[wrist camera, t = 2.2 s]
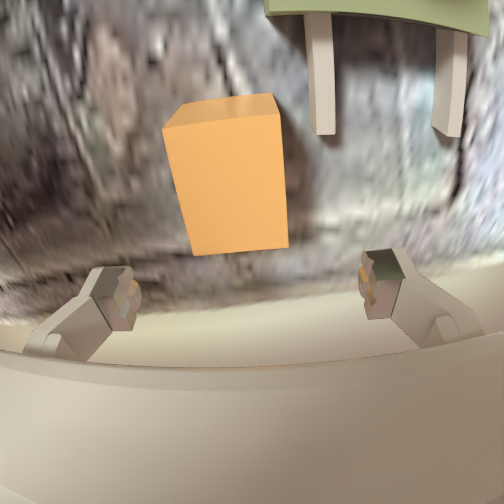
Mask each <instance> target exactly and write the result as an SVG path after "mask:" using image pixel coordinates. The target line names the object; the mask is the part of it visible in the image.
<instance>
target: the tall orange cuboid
mask: <svg viewBox="0 0 504 504" xmlns="http://www.w3.org/2000/svg"><path fill="white" fill-rule="evenodd" d="M162 133H163V138H164V142H165V146H166V151H167V155H168V159H169V163H170V167H171V171H172V176H173V180H174V184H175V188H176V192H177V195H178V199H179V203H180V207H181V211H182V215H183V219H184V222H185V226H186V230H187V233H188V237H189V241H190V244H191V248H192V252H193V255H194V256H200V255H211V254H222V253H233V252H244V251H255V250H266V249H277V248H288V247H289V244H288V224H287V207H286V190H285V175H284V160H283V146H282V133H281V121H280V113H279V110H278V107H277V105H276V102H275V99H274V97H273V94H272V93H261V94H251V95H242V96H233V97H225V98H218V99H211V100H204V101H198V102H192V103H186V104H182V105H181V106H180V108H179V109H178V110H177V111H176V112H175V114H174V115H173V116H172V117H171V118H170V120H169V121H168V122H167V123H166V125H165V126H164V127H163V128H162Z"/></svg>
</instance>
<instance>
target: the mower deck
mask: <svg viewBox="0 0 504 504" xmlns="http://www.w3.org/2000/svg"><path fill="white" fill-rule="evenodd" d="M263 2H264V11H265V16H280V15H303V17H304V29H305V41H306V55H307V71H308V89H309V111H310V125H311V127H312V128H313V130H314V132H315V133H316V135H331V134H335V80H334V55H333V36H332V21H331V15H334V16H353V17H365V18H376V19H385V20H393V21H400V22H406V23H413V24H418V25H424V26H429V27H434V28H436V66H435V88H434V103H433V114H432V126H433V127H434V128H436V129H437V130H439V131H440V132H442V133H443V134H444V135H446V136H449V137H460V133H461V125H462V118H463V109H464V99H465V87H466V72H467V34H473V35H478V36H483V37H487V38H489V12H488V0H263Z"/></svg>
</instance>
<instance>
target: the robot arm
mask: <svg viewBox="0 0 504 504" xmlns="http://www.w3.org/2000/svg"><path fill="white" fill-rule="evenodd" d="M361 262H362V265H363V266H362V267H361V268H360V269H359V276H358V283H359V290H360V294H361V296H362V297H363V298H364V299H365V303H364V307H365V311H366V314H367V317H368V320H372V319H383V318H391V319H392V320H393V321H394V322H395V323H396V324H397V325H398V326H399V327H400V328H401V329H402V330H403V331H404V332H405V333H406V334H407V335H408V336H409V337H410V338H411V339H412V340H413V341H414V342H415V343H416V344H417V345H418V346H419V347H420V348H421V349H418V350H412V351H406V352H401V353H395V354H387V355H380V356H373V357H367V358H358V359H349V360H340V361H330V362H320V363H309V364H297V365H280V366H262V367H261V366H260V367H228V368H183V367H149V366H132V365H117V364H103V363H92V362H86V361H87V360H88V359H89V358H90V357H91V355H92V354H93V353H94V352H95V351H96V350H97V349H98V348H99V346H100V345H101V344H102V343H103V342H104V341H105V340H106V338H108V336H109V335H110V334H111V333H112V331H132V329H133V326H134V323H135V320H136V315H135V313H134V312H135V311H137V310H138V309H139V308H140V305H141V299H142V293H141V289H140V286H139V284H138V283H137V282H136V281H135V280H134V279H133V277H134V272H133V270H132V268H131V267H130V266H110V267H95V268H93V269H92V270H91V272H90V274H89V276H88V278H87V279H86V281H85V283H84V285H83V287H82V289H81V291H80V293H79V295H78V297H74V298H72V299H71V300H70V301H69V302H67V303H66V304H65V305H63V306H62V307H61V308H60V309H58V310H57V311H56V312H55V313H53V314H52V315H51V316H50V317H49V318H47V319H46V320H45V321H44V322H42V323H41V324H40V325H39V326H38V327H36V328H35V329H34V330H33V331H32V333H31V335H30V337H29V339H28V341H27V343H26V345H25V347H24V350H23V352H22V353H16V352H10V351H5V350H0V504H504V331H501V332H497V333H493V334H489V335H485V333H484V331H483V329H482V327H481V325H480V323H479V321H478V319H477V317H476V315H475V313H474V311H473V310H472V309H471V308H469V307H468V306H466V305H465V304H463V303H462V302H461V301H459V300H458V299H456V298H455V297H453V296H452V295H450V294H449V293H448V292H446V291H444V290H443V289H442V288H440V287H438V286H437V285H436V284H434V283H433V282H431V281H430V280H428V279H427V278H425V277H420V275H419V273H418V271H417V269H416V268H415V266H414V264H413V262H412V260H411V258H410V256H409V254H408V253H407V251H406V249H405V248H404V247H394V248H388V249H375V250H363V252H362V254H361Z"/></svg>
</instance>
